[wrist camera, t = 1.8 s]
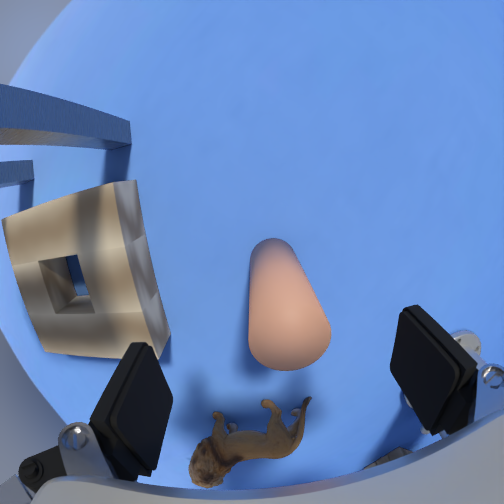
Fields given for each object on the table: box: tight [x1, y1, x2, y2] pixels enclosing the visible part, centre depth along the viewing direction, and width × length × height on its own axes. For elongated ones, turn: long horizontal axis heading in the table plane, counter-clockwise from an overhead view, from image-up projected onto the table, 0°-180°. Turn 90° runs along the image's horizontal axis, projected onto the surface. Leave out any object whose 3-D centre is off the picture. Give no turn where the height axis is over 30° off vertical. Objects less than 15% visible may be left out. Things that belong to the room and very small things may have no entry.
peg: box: [248, 238, 331, 371], centre depth 16 cm, size 4×4×11 cm
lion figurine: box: [189, 397, 312, 488], centre depth 23 cm, size 15×5×9 cm, turn 120°
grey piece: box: [0, 84, 132, 188], centre depth 12 cm, size 6×15×16 cm, turn 97°
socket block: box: [2, 180, 171, 359], centre depth 20 cm, size 14×14×4 cm
